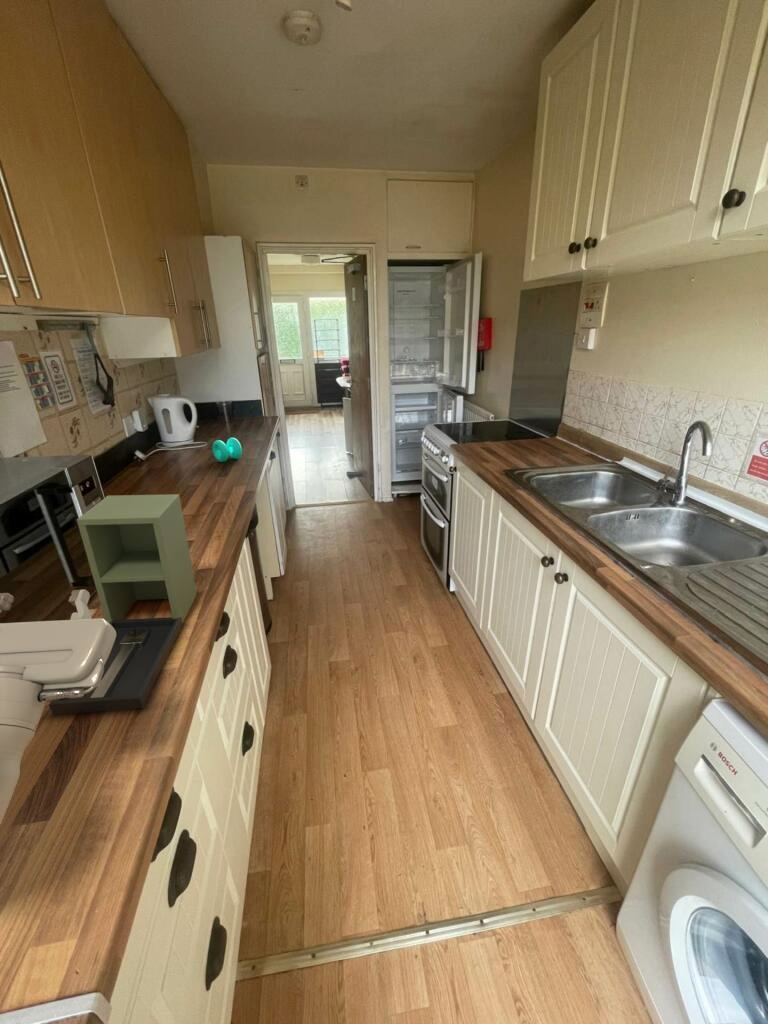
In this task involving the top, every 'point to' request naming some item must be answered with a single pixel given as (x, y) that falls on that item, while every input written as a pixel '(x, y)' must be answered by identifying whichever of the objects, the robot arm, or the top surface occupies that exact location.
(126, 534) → the shelf
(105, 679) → the fork
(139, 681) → the tray
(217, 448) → the turquoise spool
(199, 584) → the top surface
